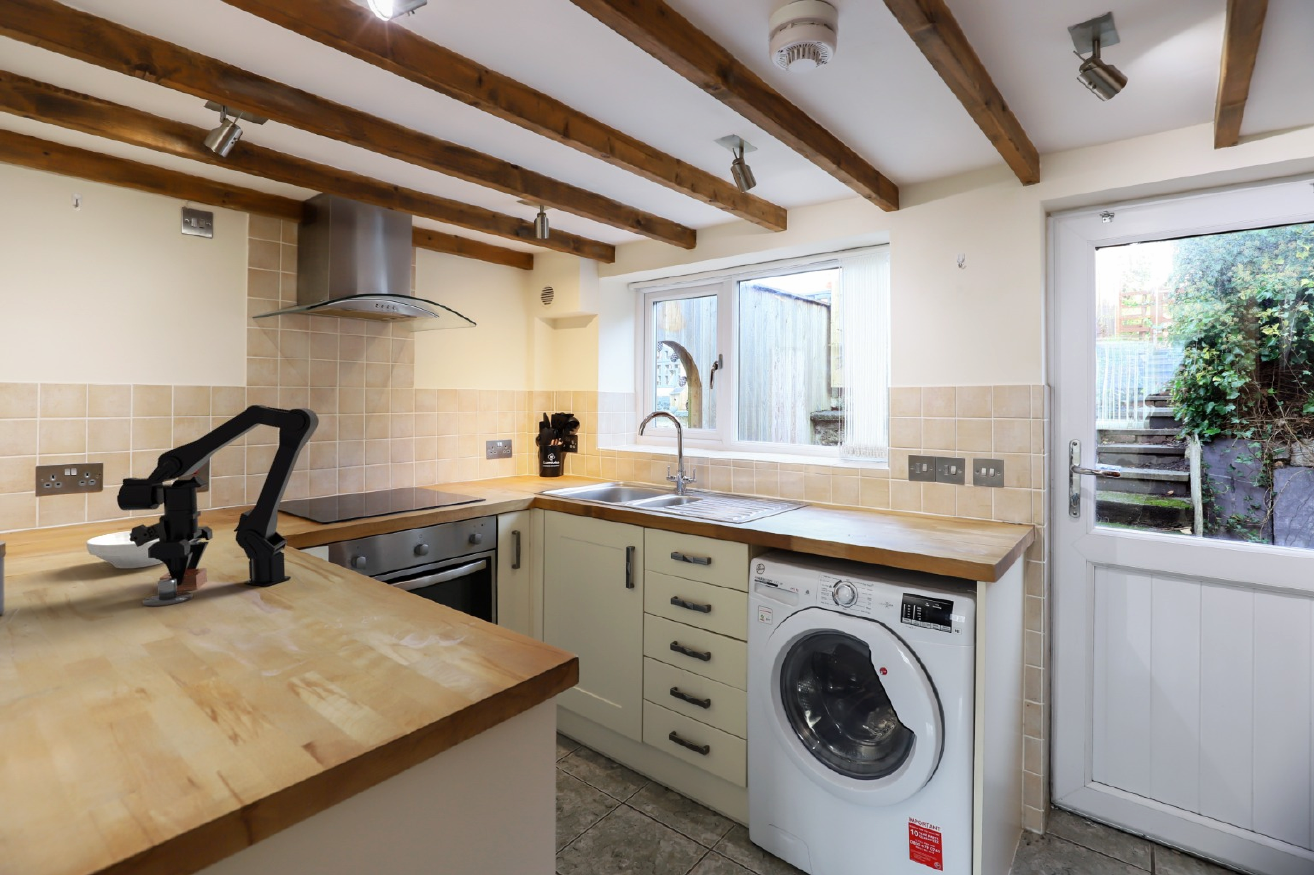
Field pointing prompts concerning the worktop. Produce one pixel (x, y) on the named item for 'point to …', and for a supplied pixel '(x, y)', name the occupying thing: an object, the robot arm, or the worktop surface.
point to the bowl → (121, 550)
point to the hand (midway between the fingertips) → (184, 581)
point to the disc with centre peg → (167, 594)
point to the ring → (191, 579)
